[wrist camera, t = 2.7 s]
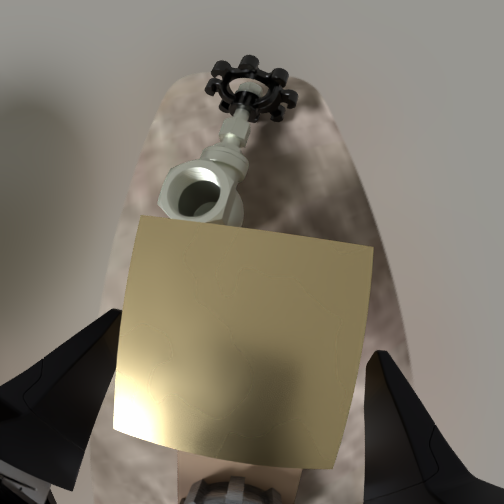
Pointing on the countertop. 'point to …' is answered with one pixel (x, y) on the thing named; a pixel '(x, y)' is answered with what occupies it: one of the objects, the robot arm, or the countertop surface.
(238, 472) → the carrier board
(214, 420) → the gold tall block
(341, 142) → the countertop surface
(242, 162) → the valve
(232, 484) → the sun gear
